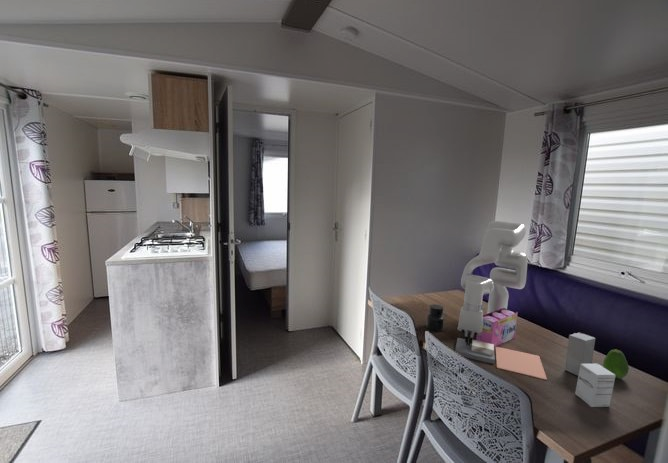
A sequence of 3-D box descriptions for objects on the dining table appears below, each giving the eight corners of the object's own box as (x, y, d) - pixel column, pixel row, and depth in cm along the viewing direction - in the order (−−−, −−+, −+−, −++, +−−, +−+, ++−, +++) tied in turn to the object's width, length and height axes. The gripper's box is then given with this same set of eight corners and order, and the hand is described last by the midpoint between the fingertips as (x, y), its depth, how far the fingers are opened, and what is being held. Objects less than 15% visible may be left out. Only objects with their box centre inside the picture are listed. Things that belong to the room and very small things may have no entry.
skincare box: (581, 378, 133) (587, 342, 131) (562, 369, 140) (567, 334, 137) (591, 373, 137) (598, 338, 135) (573, 364, 143) (578, 330, 141)
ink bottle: (442, 325, 178) (444, 304, 176) (445, 332, 170) (448, 310, 168) (423, 323, 179) (425, 303, 177) (426, 331, 170) (428, 309, 169)
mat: (495, 347, 156) (495, 346, 156) (539, 356, 149) (539, 355, 149) (496, 368, 138) (497, 367, 138) (546, 380, 131) (546, 379, 131)
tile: (471, 350, 148) (472, 345, 148) (472, 344, 154) (472, 339, 153) (493, 355, 145) (494, 350, 144) (493, 349, 150) (493, 344, 150)
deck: (457, 341, 160) (457, 337, 160) (493, 349, 154) (493, 345, 154) (454, 354, 148) (455, 350, 148) (494, 363, 141) (494, 359, 141)
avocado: (596, 371, 139) (601, 345, 137) (614, 371, 139) (619, 345, 137) (613, 383, 131) (618, 355, 129) (632, 383, 131) (637, 355, 129)
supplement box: (574, 394, 123) (579, 363, 121) (592, 393, 123) (598, 362, 121) (591, 407, 116) (597, 374, 114) (610, 407, 116) (616, 374, 114)
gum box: (501, 331, 174) (504, 307, 172) (516, 337, 168) (520, 312, 165) (475, 342, 161) (478, 316, 159) (490, 349, 154) (494, 322, 152)
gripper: (490, 307, 149) (485, 344, 152) (455, 300, 155) (451, 337, 158) (490, 312, 142) (485, 351, 145) (454, 305, 148) (450, 343, 151)
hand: (468, 344), depth 152 cm, fingers closed
